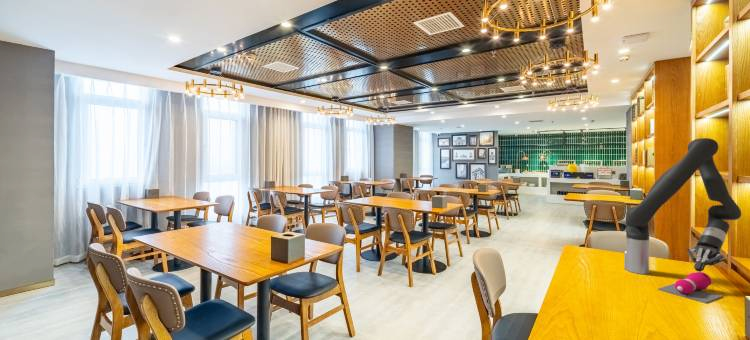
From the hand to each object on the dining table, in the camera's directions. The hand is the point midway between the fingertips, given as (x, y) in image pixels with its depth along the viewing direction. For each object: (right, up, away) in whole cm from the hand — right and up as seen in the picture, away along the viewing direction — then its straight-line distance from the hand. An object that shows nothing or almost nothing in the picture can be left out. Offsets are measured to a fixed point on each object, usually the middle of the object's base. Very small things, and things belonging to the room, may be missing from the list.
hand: (697, 270), depth 144 cm
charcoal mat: (-6, -9, -3) cm, 11 cm away
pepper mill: (+4, -5, +2) cm, 7 cm away
